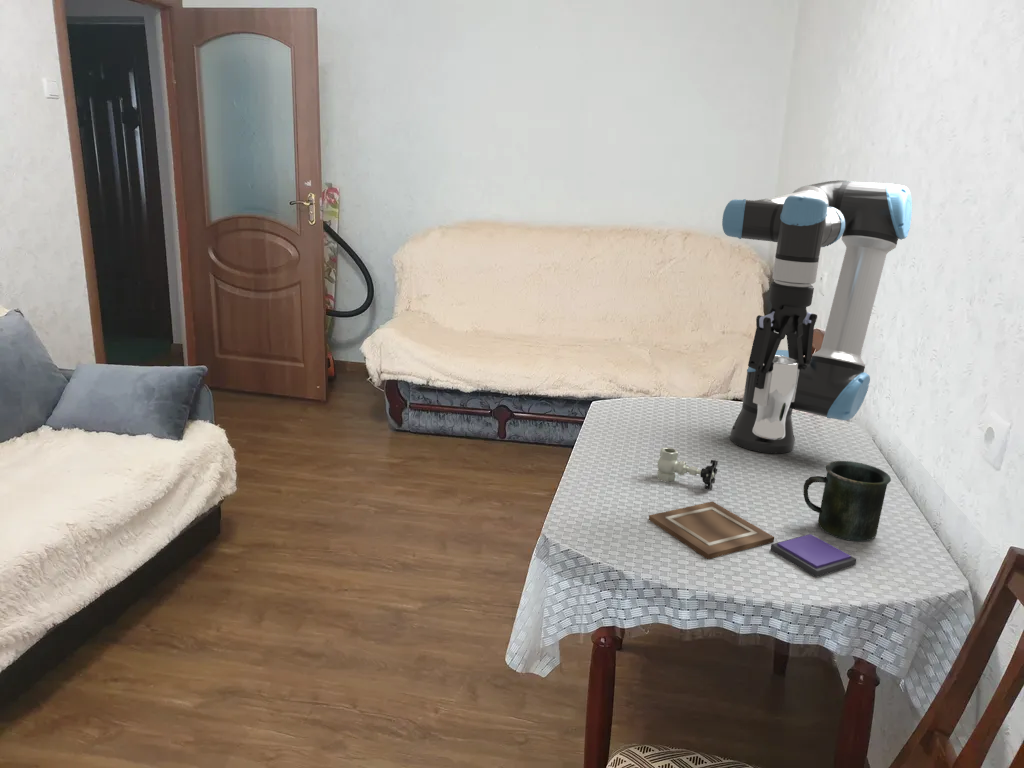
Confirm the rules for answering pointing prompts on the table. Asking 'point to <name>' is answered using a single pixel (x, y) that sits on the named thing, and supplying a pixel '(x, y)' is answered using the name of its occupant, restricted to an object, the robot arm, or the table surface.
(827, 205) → the robot arm
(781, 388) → the beer glass
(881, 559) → the table surface
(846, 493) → the mug
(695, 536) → the board
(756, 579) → the table surface
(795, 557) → the ink pad
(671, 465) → the valve
